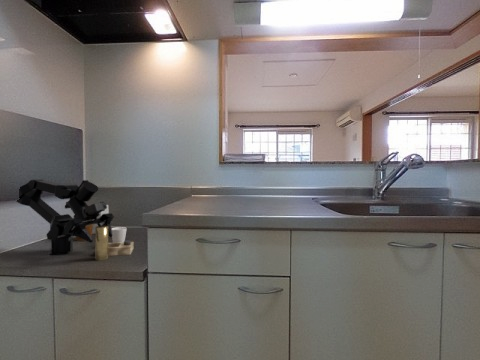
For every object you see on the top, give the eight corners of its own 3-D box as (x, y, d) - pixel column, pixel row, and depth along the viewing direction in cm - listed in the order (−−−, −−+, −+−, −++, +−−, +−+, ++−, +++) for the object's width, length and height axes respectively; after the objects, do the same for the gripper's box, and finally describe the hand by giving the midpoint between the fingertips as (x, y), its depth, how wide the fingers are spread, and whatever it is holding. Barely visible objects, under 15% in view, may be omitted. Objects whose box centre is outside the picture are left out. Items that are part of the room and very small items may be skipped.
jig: (96, 256, 104) (96, 245, 104) (102, 249, 113) (102, 239, 113) (130, 254, 107) (130, 243, 107) (133, 248, 116) (133, 238, 116)
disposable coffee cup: (67, 241, 126) (68, 216, 126) (82, 236, 136) (82, 213, 136) (85, 242, 125) (85, 217, 125) (99, 237, 134) (99, 214, 134)
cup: (129, 246, 120) (129, 228, 120) (106, 250, 113) (106, 231, 113) (123, 243, 125) (123, 226, 125) (101, 246, 118) (101, 229, 118)
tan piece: (93, 260, 99) (94, 227, 99) (96, 257, 103) (97, 225, 103) (106, 260, 100) (106, 227, 100) (109, 256, 104) (109, 225, 104)
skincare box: (109, 232, 148) (109, 204, 148) (100, 234, 141) (100, 206, 141) (96, 231, 150) (97, 204, 149) (87, 233, 143) (87, 205, 143)
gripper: (69, 197, 94) (92, 230, 91) (110, 194, 112) (131, 221, 108) (54, 217, 97) (75, 250, 93) (96, 211, 114) (116, 238, 111)
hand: (102, 239), depth 101 cm, fingers open, 9 cm apart
